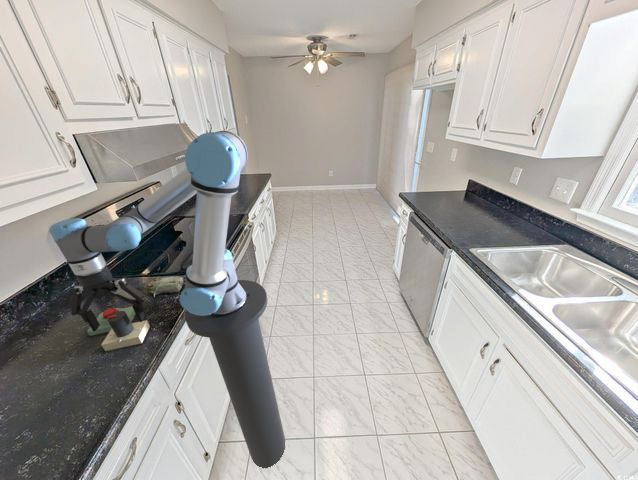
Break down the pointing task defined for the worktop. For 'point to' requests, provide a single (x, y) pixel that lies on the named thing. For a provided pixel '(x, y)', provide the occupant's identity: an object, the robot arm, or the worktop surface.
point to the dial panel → (126, 337)
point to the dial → (120, 324)
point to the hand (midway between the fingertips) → (120, 323)
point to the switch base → (105, 324)
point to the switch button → (109, 312)
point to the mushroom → (165, 285)
